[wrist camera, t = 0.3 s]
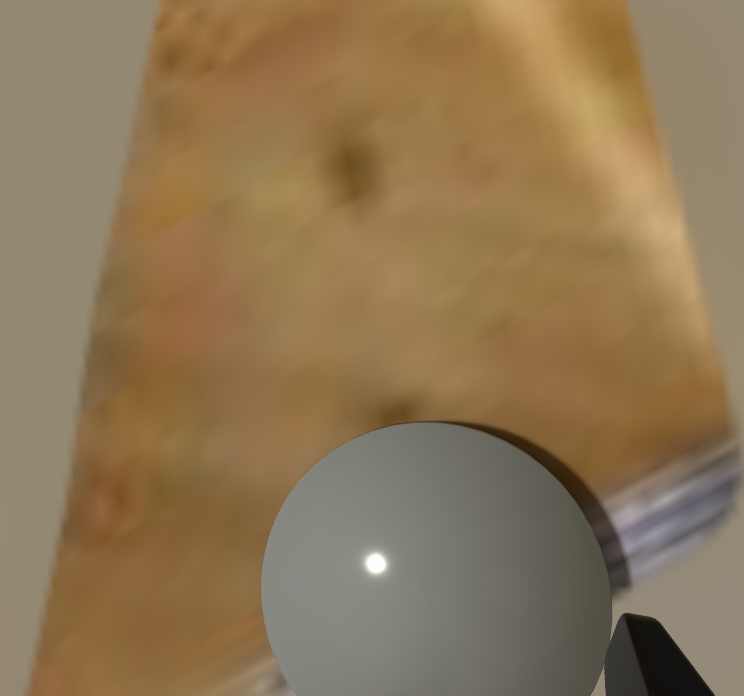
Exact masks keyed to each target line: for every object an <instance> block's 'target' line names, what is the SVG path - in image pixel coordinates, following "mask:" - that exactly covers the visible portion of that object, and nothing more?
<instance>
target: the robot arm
mask: <svg viewBox="0 0 744 696" xmlns="http://www.w3.org/2000/svg"><path fill="white" fill-rule="evenodd" d="M604 670H605V688H606V696H715V695H714V693H713V692H712V691H711V690H710V688H709V687H708V686H707V684H706V683H705V682H704V680H703V679H702V678H701V676H700V675H699V674H698V672H697V671H696V670H695V668H694V667H693V666H692V664H691V663H690V662H689V660H688V659H687V658H686V656H685V655H684V654H683V652H682V651H681V650H680V648H679V647H678V646H677V644H676V643H675V642H674V641H673V639H672V638H671V637H670V635H669V634H668V632H667V631H666V630H665V629H664V627H663V626H662V625H661V623H660V622H659V621H657V620H656V619H654V618H652V617H648V616H642V615H636V614H631V613H625V614H623V615H622V616H621V617H620V619H619V620H618V623H617V625H616V628H615V631H614V633H613V636H612V639H611V641H610V644H609V646H608V649H607V652H606V656H605V667H604Z"/></svg>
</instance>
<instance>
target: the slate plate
mask: <svg viewBox="0 0 744 696" xmlns="http://www.w3.org/2000/svg"><path fill="white" fill-rule="evenodd" d="M261 599H262V608H263V615H264V623H265V627H266V630H267V634H268V638H269V642H270V645H271V648H272V650H273V653H274V655H275V658H276V661H277V663H278V666H279V667H280V669H281V671H282V673H283V675H284V677H285V679H286V680H287V682H288V684H289V686H290V687H291V689H292V690H293V692H294V693H295V694H296V696H590V695H591V694H592V692H593V690H594V688H595V686H596V683H597V681H598V679H599V676H600V674H601V672H602V670H603V666H604V663H605V656H606V652H607V649H608V646H609V643H610V635H611V627H612V595H611V589H610V582H609V576H608V571H607V568H606V564H605V561H604V557H603V554H602V550H601V548H600V546H599V543H598V541H597V539H596V536H595V534H594V532H593V530H592V527H591V526H590V524H589V522H588V521H587V519H586V517H585V516H584V514H583V512H582V511H581V509H580V507H579V506H578V504H577V502H576V501H575V499H574V498H573V497H572V496H571V494H570V493H569V492H568V491H567V489H566V488H565V487H564V486H563V484H562V483H561V482H560V481H559V480H558V479H557V478H556V477H555V476H554V475H553V474H552V473H551V472H550V471H549V470H548V469H547V468H546V467H545V466H544V465H543V464H541V463H540V462H539V461H537V460H536V459H535V458H533V457H532V456H531V455H529V454H528V453H527V452H526V451H524V450H522V449H521V448H519V447H517V446H515V445H514V444H512V443H510V442H508V441H507V440H505V439H503V438H500V437H498V436H495V435H493V434H491V433H488V432H486V431H483V430H480V429H476V428H473V427H469V426H465V425H462V424H454V423H447V422H440V421H415V422H407V423H399V424H393V425H390V426H386V427H382V428H378V429H375V430H372V431H370V432H367V433H365V434H362V435H360V436H358V437H355V438H354V439H352V440H350V441H348V442H347V443H345V444H343V445H342V446H340V447H338V448H336V449H335V450H333V451H332V452H330V453H329V454H328V455H327V456H325V457H324V458H323V459H321V460H320V461H319V462H318V463H316V464H315V465H314V466H313V467H312V468H311V469H310V470H309V471H308V472H307V473H306V474H305V475H304V476H303V477H302V478H301V479H300V481H299V482H298V483H297V485H296V486H295V487H294V489H293V490H292V491H291V493H290V494H289V495H288V497H287V498H286V500H285V502H284V504H283V506H282V507H281V509H280V511H279V513H278V515H277V517H276V519H275V522H274V524H273V527H272V530H271V532H270V535H269V538H268V542H267V546H266V550H265V554H264V560H263V568H262V577H261Z"/></svg>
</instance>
